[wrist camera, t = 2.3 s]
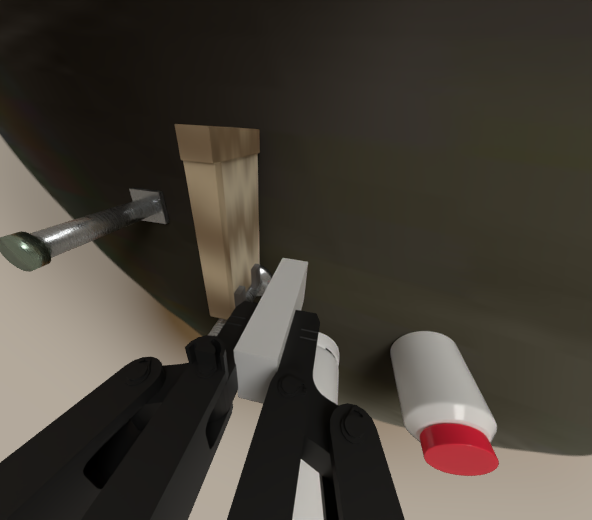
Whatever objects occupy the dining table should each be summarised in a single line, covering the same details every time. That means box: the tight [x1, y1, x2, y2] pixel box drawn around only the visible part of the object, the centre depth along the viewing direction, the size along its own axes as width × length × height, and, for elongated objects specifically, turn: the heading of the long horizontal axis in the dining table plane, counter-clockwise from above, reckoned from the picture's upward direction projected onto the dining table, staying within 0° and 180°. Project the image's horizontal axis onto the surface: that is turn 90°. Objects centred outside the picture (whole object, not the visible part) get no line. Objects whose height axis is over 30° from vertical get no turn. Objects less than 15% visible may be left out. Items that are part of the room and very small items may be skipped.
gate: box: [175, 124, 260, 320], centre depth 19 cm, size 15×2×8 cm, turn 176°
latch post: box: [0, 188, 169, 271], centre depth 20 cm, size 4×4×12 cm
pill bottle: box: [390, 331, 499, 476], centre depth 24 cm, size 8×8×11 cm
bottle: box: [292, 332, 339, 520], centre depth 20 cm, size 8×8×28 cm
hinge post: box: [208, 265, 272, 336], centre depth 23 cm, size 4×4×12 cm
